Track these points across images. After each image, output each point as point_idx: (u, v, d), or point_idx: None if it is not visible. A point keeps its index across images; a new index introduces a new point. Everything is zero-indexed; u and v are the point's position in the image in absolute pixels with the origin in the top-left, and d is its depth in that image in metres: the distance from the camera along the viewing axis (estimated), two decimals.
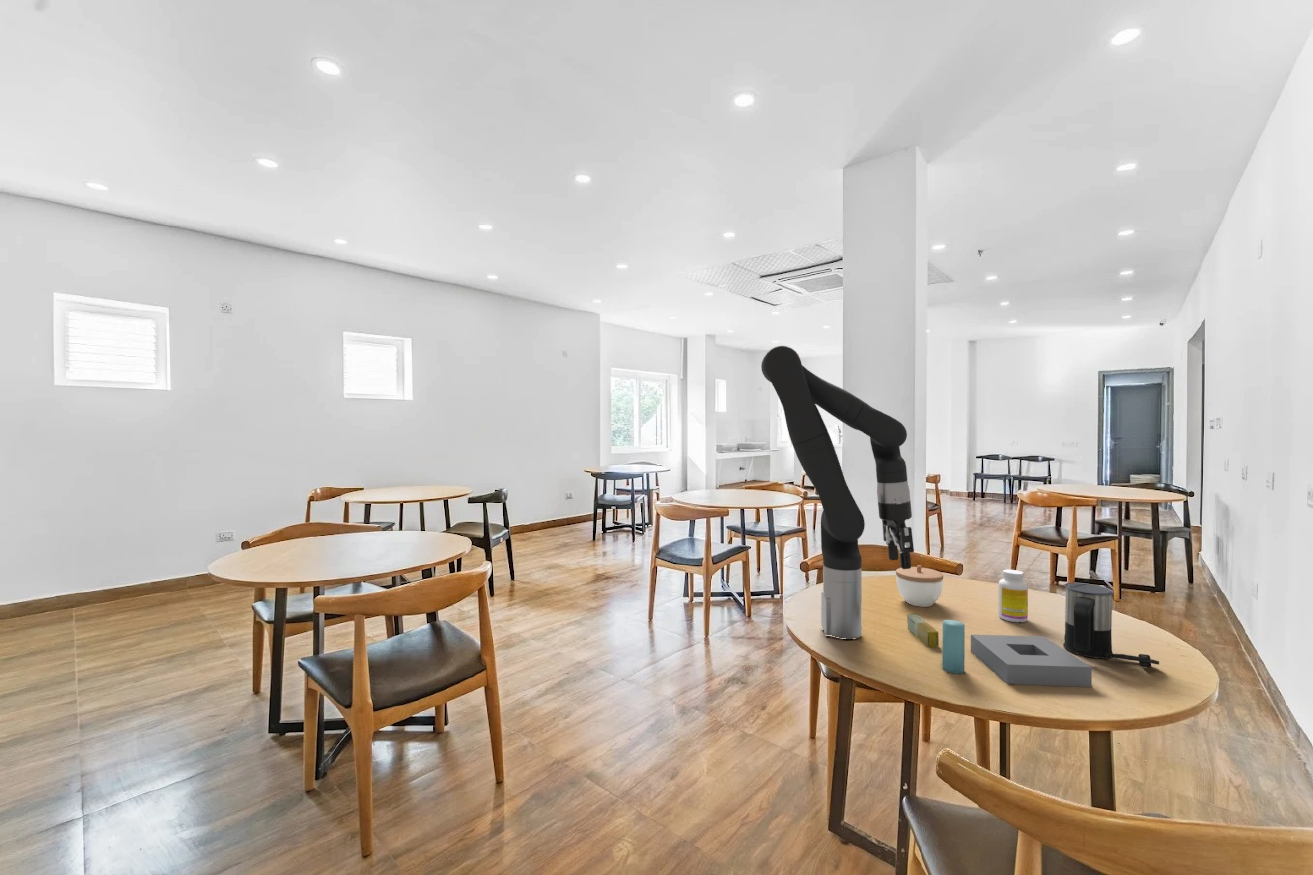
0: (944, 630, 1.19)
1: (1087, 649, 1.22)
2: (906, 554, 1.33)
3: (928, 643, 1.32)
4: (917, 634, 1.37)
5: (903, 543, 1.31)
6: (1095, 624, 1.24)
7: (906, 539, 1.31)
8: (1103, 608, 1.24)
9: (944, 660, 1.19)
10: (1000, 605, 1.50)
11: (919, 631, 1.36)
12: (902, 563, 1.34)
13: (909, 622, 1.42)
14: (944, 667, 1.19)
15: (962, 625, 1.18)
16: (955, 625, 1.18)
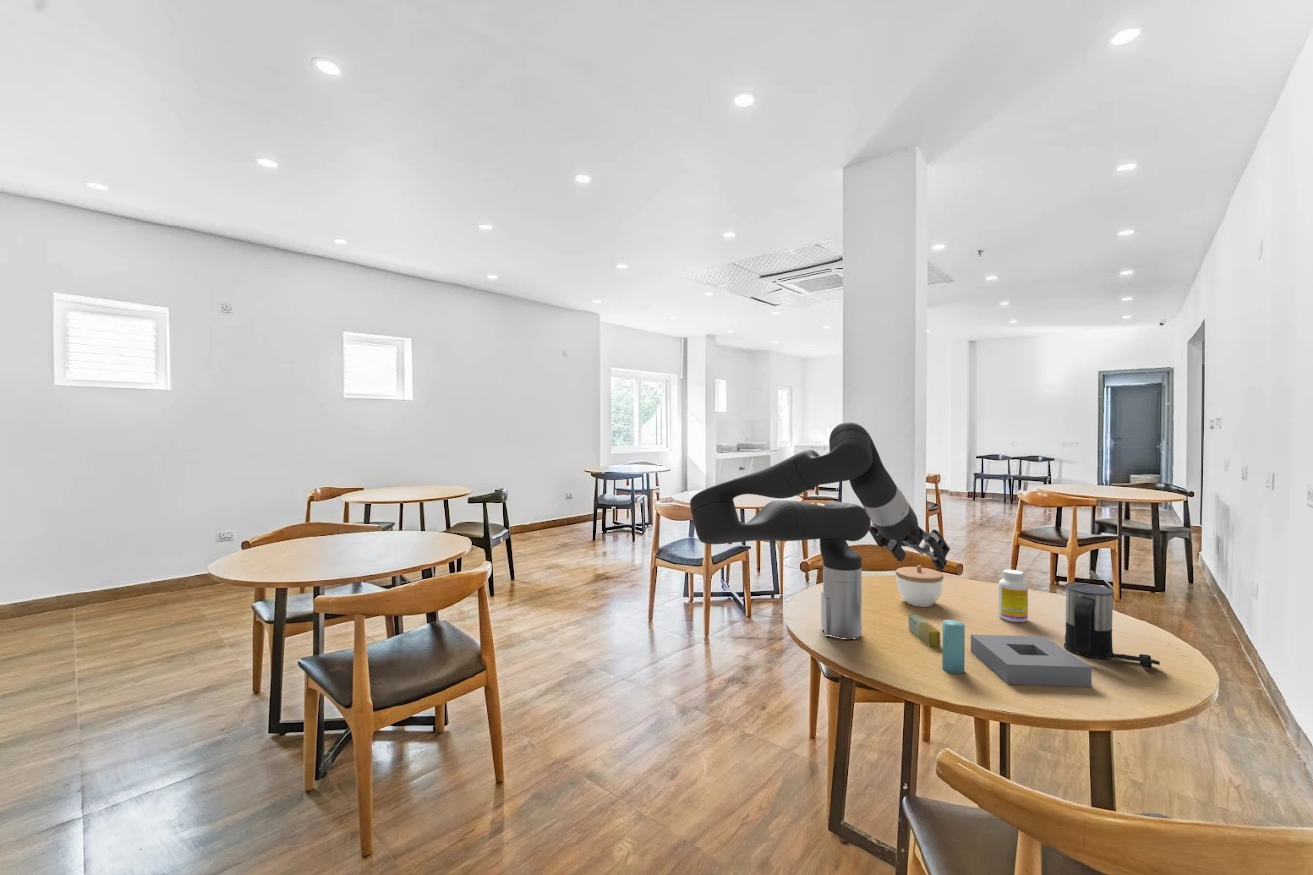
0: (944, 630, 1.19)
1: (1087, 649, 1.22)
2: None
3: (930, 643, 1.32)
4: (918, 634, 1.37)
5: (940, 551, 1.03)
6: (1095, 625, 1.24)
7: (940, 545, 1.03)
8: (1104, 608, 1.24)
9: (944, 660, 1.19)
10: (1000, 605, 1.50)
11: (920, 631, 1.36)
12: (939, 566, 1.07)
13: (910, 622, 1.42)
14: (944, 667, 1.19)
15: (962, 625, 1.18)
16: (955, 625, 1.18)
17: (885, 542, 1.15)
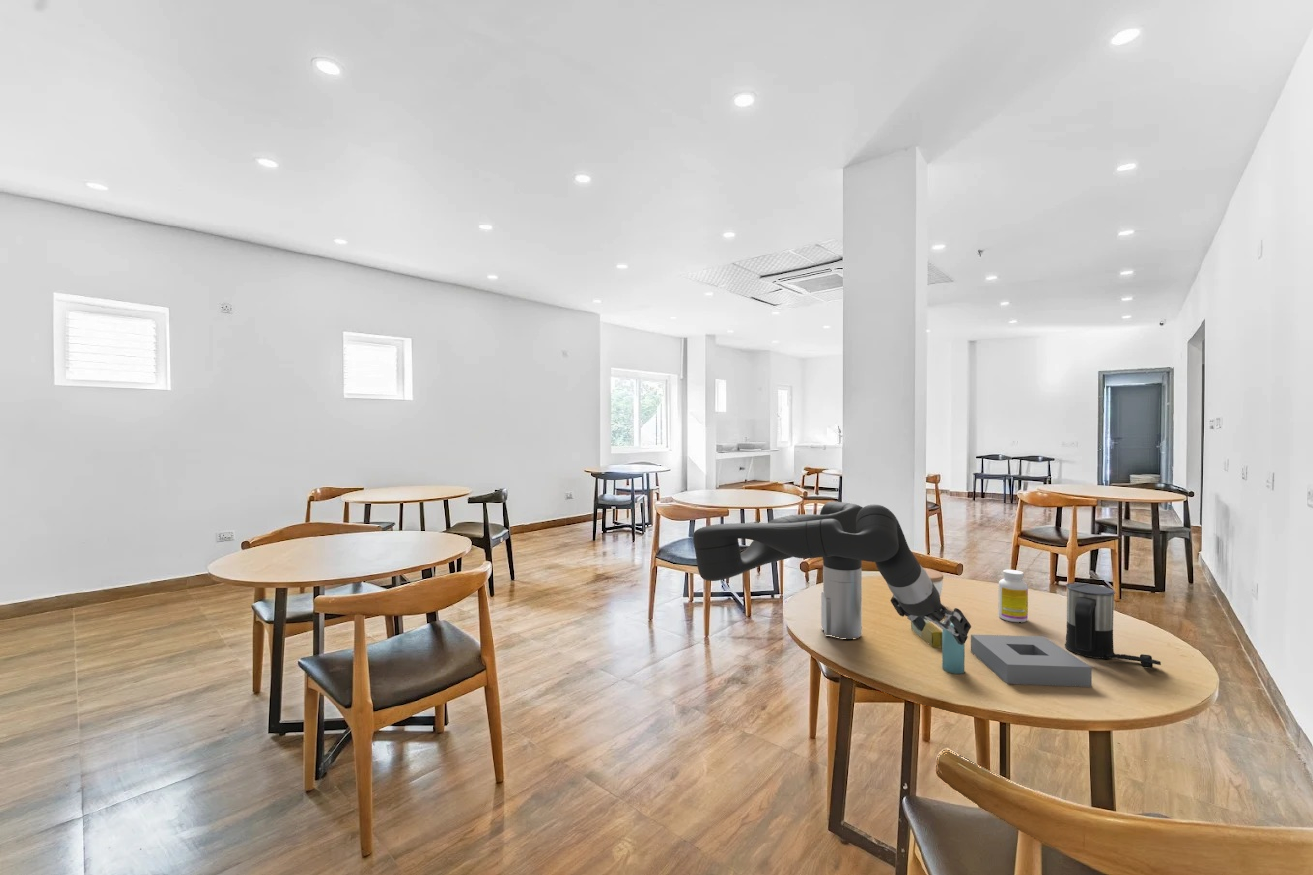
0: (944, 630, 1.19)
1: (1088, 649, 1.22)
2: None
3: (932, 643, 1.32)
4: (921, 634, 1.37)
5: (962, 629, 1.06)
6: (1096, 625, 1.24)
7: (962, 623, 1.06)
8: (1105, 608, 1.24)
9: (944, 660, 1.19)
10: (1000, 605, 1.50)
11: (923, 631, 1.36)
12: (960, 641, 1.10)
13: None
14: (944, 667, 1.19)
15: None
16: None
17: (906, 612, 1.17)
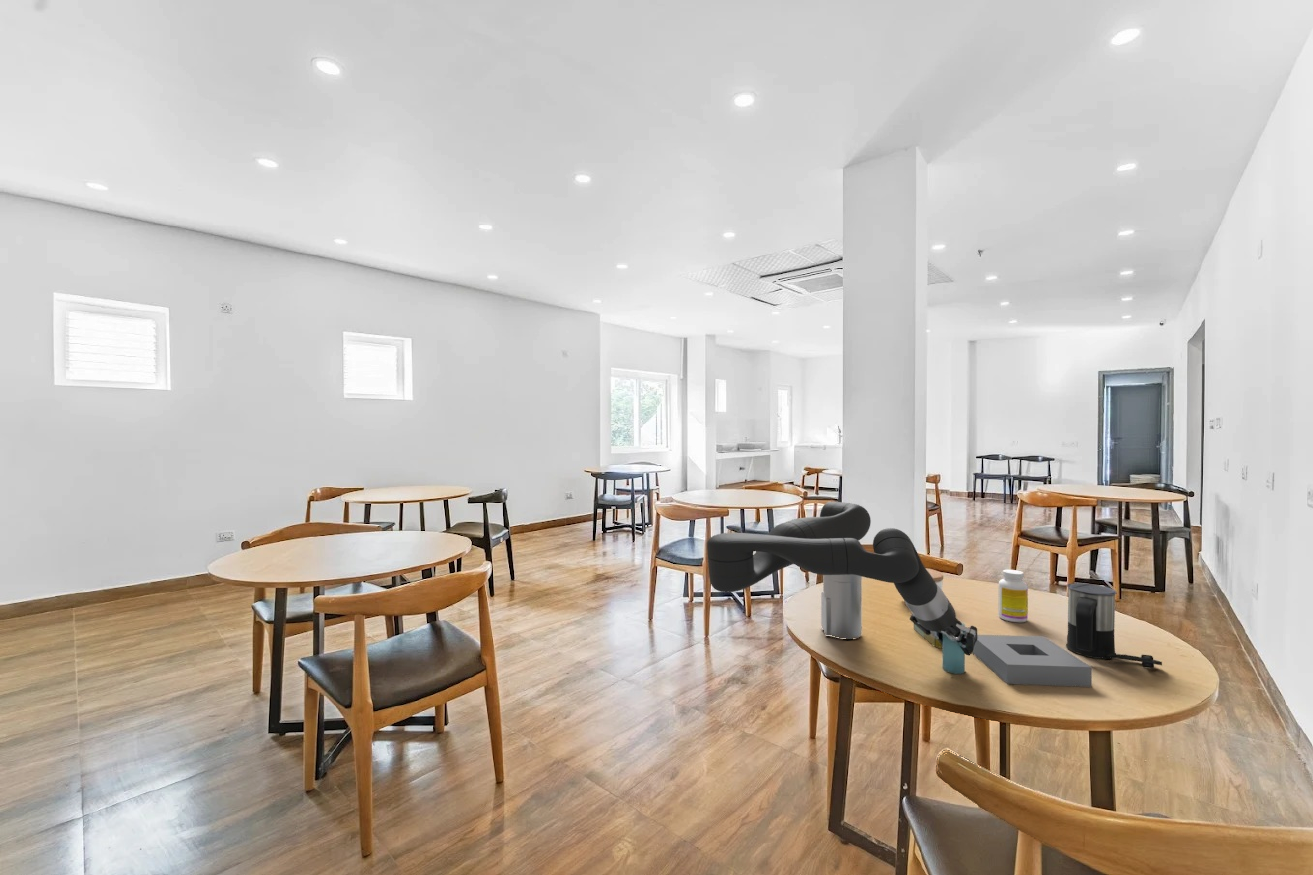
0: None
1: (1089, 649, 1.22)
2: None
3: (935, 643, 1.32)
4: (923, 634, 1.37)
5: (973, 644, 1.13)
6: (1097, 625, 1.24)
7: (974, 639, 1.13)
8: (1106, 608, 1.24)
9: (944, 660, 1.19)
10: (1000, 605, 1.50)
11: None
12: (967, 652, 1.17)
13: None
14: (944, 667, 1.19)
15: None
16: None
17: None
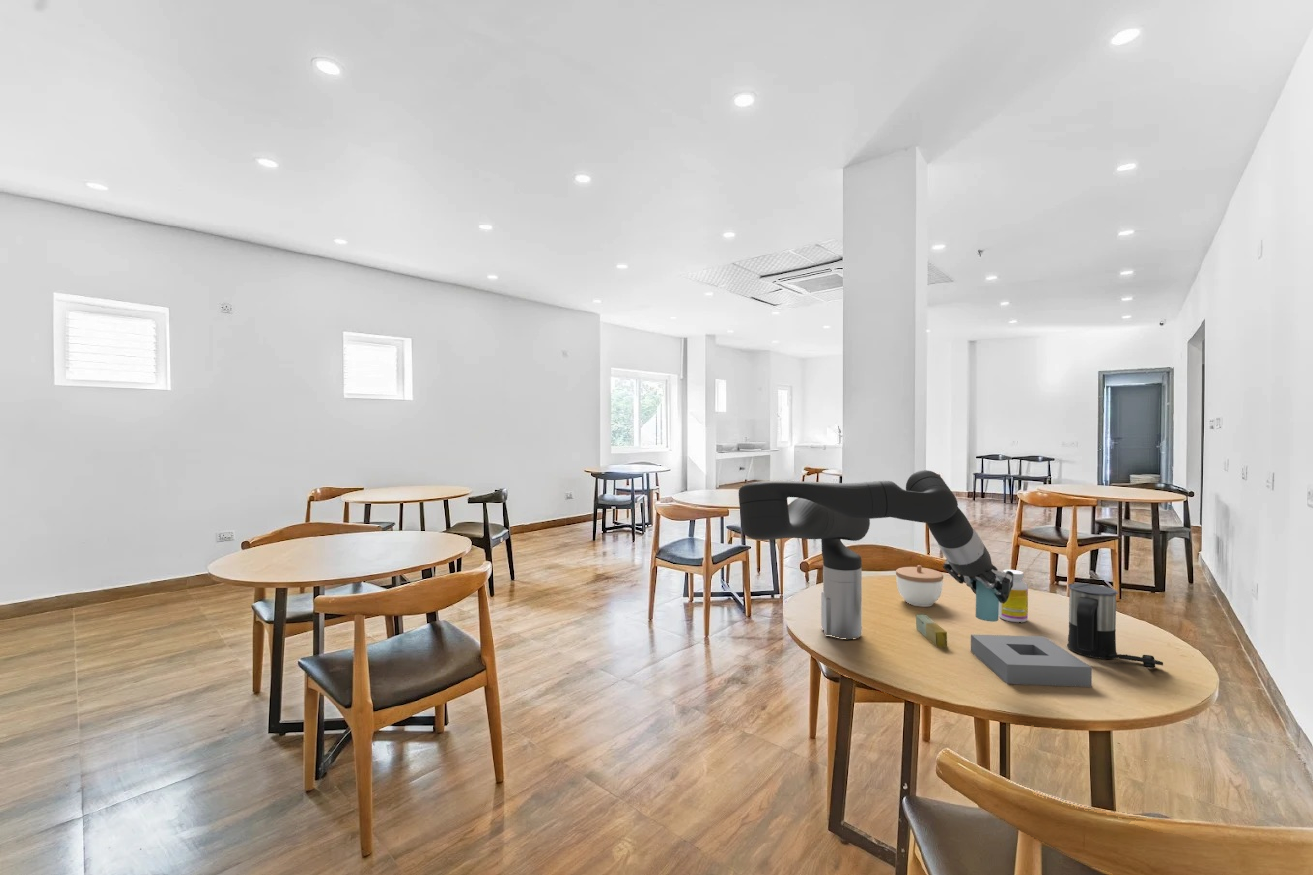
0: None
1: (1090, 649, 1.22)
2: None
3: (936, 643, 1.32)
4: (926, 634, 1.37)
5: (1009, 590, 1.11)
6: (1098, 625, 1.24)
7: (1010, 584, 1.11)
8: (1107, 608, 1.24)
9: (977, 608, 1.18)
10: (1000, 605, 1.50)
11: (927, 631, 1.36)
12: (1002, 599, 1.16)
13: (918, 622, 1.42)
14: (977, 615, 1.18)
15: None
16: None
17: None
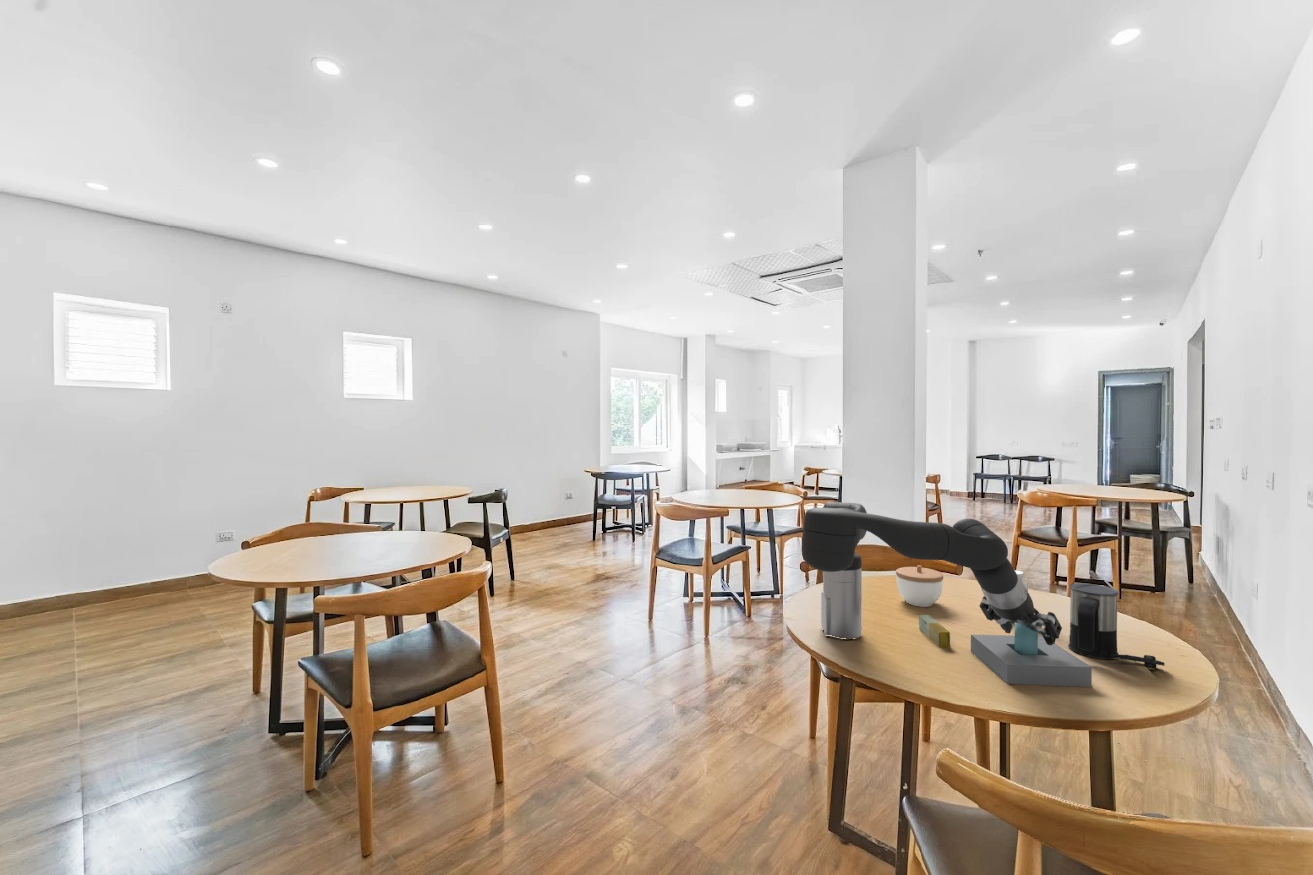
0: (1017, 629, 1.20)
1: (1091, 649, 1.22)
2: None
3: (939, 643, 1.32)
4: (929, 634, 1.37)
5: (1056, 632, 1.12)
6: (1100, 625, 1.24)
7: (1055, 626, 1.12)
8: (1108, 608, 1.24)
9: None
10: None
11: (930, 631, 1.36)
12: (1050, 642, 1.16)
13: (921, 622, 1.42)
14: None
15: None
16: None
17: (995, 617, 1.23)
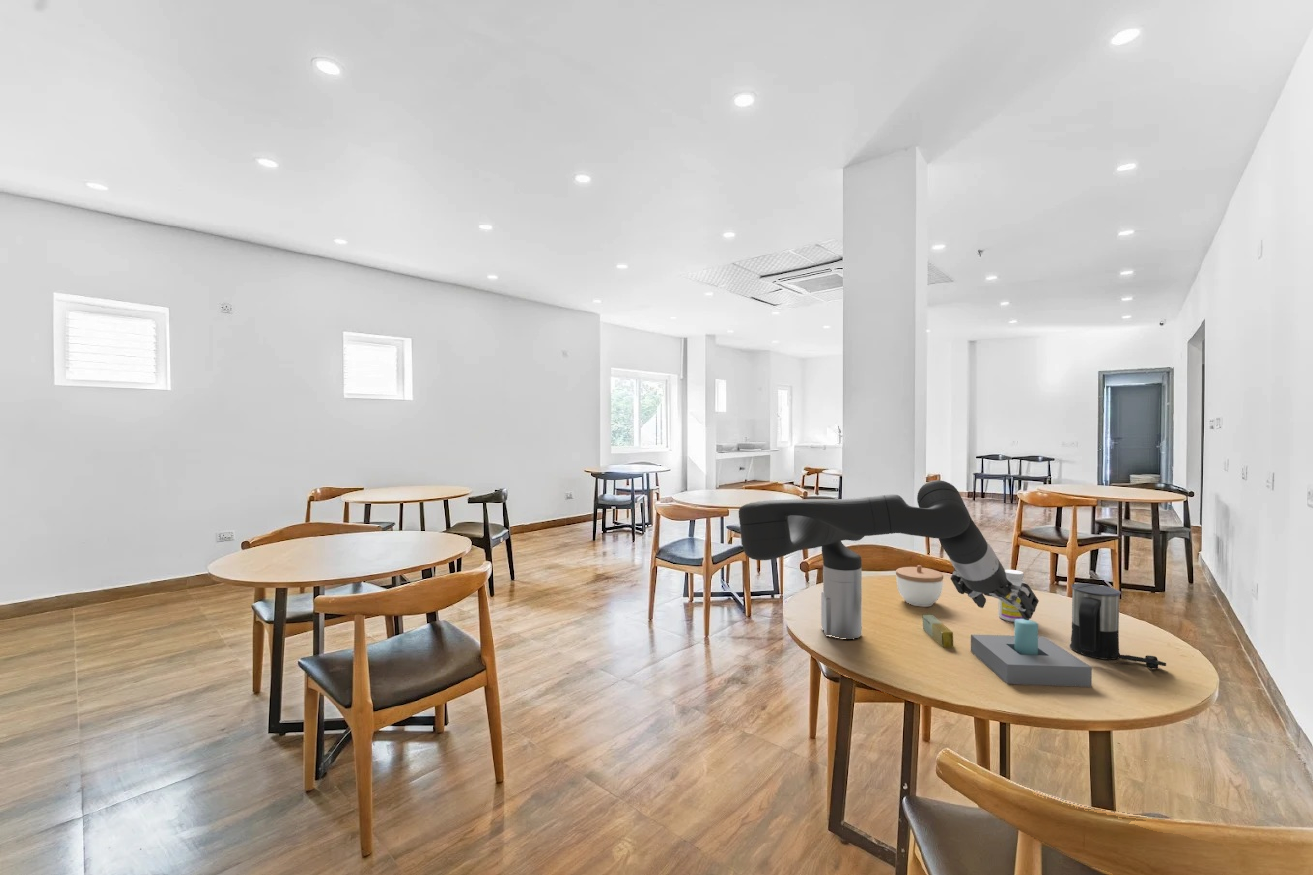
0: (1017, 629, 1.20)
1: (1092, 650, 1.21)
2: None
3: (942, 643, 1.32)
4: (932, 634, 1.37)
5: (1030, 604, 1.03)
6: (1101, 625, 1.24)
7: (1030, 598, 1.03)
8: (1110, 609, 1.24)
9: None
10: (1000, 605, 1.50)
11: (933, 631, 1.36)
12: (1026, 616, 1.07)
13: (924, 622, 1.42)
14: None
15: (1035, 624, 1.19)
16: (1029, 624, 1.18)
17: (966, 590, 1.14)
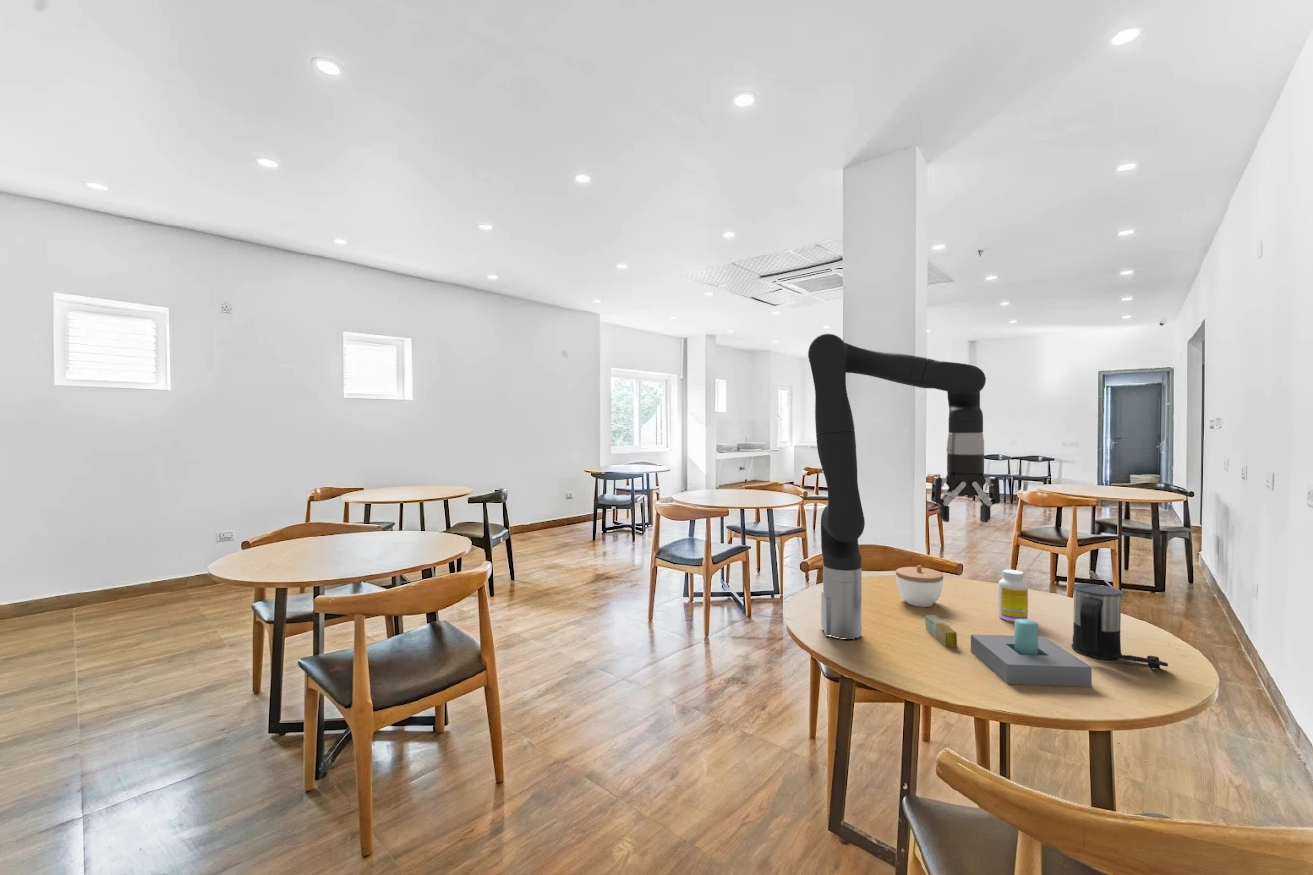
0: (1017, 629, 1.20)
1: (1094, 650, 1.21)
2: None
3: (946, 644, 1.31)
4: (935, 635, 1.37)
5: None
6: (1103, 625, 1.24)
7: None
8: (1111, 609, 1.23)
9: None
10: (1000, 605, 1.50)
11: (937, 631, 1.36)
12: (987, 516, 1.28)
13: (927, 623, 1.42)
14: None
15: (1035, 624, 1.19)
16: (1029, 624, 1.18)
17: (941, 499, 1.29)
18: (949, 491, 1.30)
